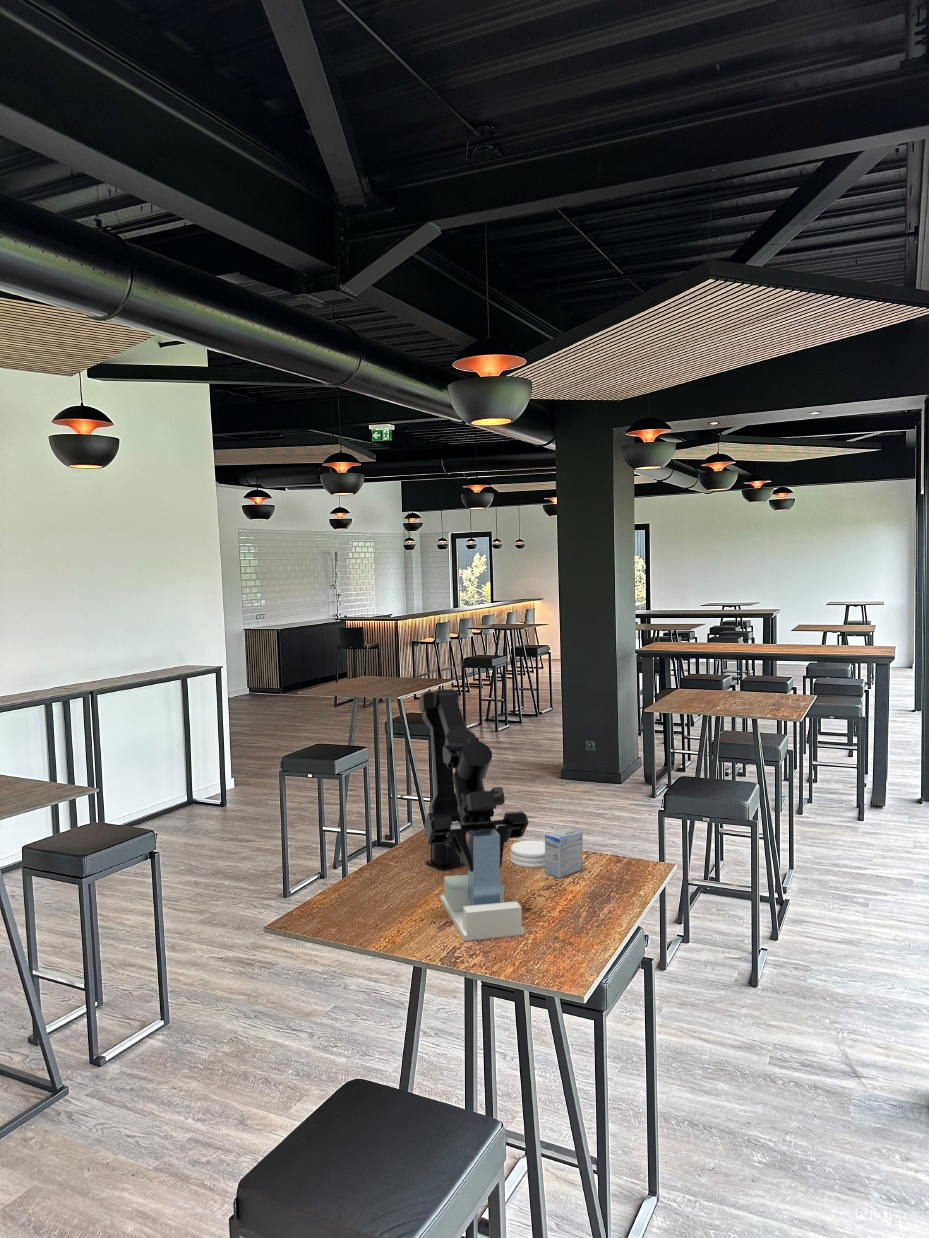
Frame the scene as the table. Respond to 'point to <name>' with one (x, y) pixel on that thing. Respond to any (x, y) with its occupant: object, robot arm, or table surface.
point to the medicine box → (563, 852)
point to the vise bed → (487, 920)
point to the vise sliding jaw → (460, 892)
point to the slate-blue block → (484, 867)
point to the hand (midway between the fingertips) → (485, 869)
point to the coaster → (528, 854)
